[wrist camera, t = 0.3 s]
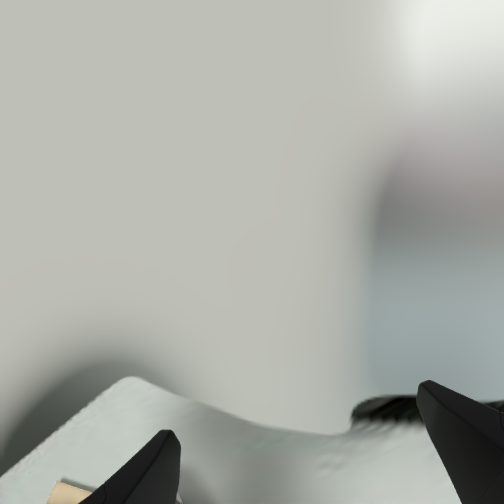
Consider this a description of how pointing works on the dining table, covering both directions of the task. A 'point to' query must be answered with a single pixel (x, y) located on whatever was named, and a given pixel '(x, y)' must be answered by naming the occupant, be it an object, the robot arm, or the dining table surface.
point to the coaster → (67, 494)
